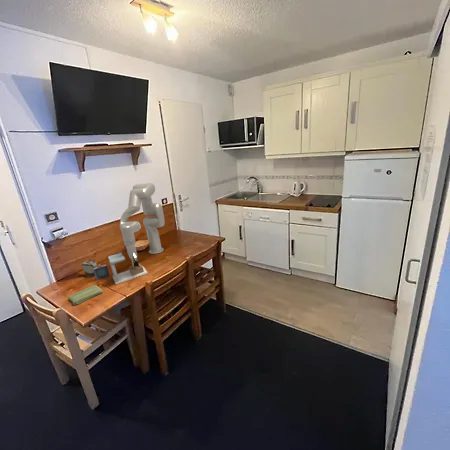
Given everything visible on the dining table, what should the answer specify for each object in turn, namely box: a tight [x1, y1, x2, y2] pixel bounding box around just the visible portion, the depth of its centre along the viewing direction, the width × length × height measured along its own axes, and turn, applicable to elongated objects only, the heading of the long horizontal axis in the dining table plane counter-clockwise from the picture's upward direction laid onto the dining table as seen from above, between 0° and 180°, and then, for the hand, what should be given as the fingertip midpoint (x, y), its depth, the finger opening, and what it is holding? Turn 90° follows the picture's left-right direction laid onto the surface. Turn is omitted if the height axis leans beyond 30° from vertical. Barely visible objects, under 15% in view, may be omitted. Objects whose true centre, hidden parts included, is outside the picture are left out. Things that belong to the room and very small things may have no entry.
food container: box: [80, 260, 98, 278], centre depth 187 cm, size 12×6×10 cm, turn 71°
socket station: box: [107, 252, 149, 285], centre depth 178 cm, size 14×22×16 cm, turn 122°
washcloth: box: [68, 284, 104, 306], centre depth 159 cm, size 13×18×3 cm
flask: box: [93, 263, 111, 281], centre depth 179 cm, size 9×3×11 cm, turn 121°
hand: (135, 264), depth 181 cm, fingers open, 8 cm apart
